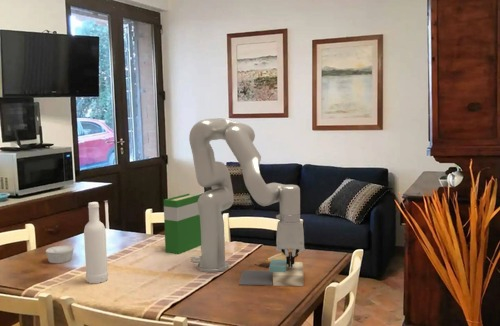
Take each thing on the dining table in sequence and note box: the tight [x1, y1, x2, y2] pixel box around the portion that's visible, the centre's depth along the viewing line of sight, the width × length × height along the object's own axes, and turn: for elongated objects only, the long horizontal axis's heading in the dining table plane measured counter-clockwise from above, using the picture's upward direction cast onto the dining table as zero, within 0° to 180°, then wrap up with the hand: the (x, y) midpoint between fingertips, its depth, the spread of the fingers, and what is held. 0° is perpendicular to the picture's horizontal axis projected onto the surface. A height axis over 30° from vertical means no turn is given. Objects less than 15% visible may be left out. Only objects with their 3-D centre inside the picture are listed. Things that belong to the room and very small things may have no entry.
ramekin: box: [45, 245, 75, 264], centre depth 229 cm, size 11×11×5 cm
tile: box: [268, 259, 287, 272], centre depth 200 cm, size 6×9×2 cm, turn 173°
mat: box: [238, 269, 273, 287], centre depth 202 cm, size 12×16×1 cm
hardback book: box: [163, 193, 202, 255], centre depth 244 cm, size 18×7×24 cm, turn 149°
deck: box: [272, 261, 304, 287], centre depth 200 cm, size 11×16×4 cm
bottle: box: [83, 201, 109, 284], centre depth 201 cm, size 8×8×30 cm
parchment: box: [254, 251, 299, 269], centre depth 225 cm, size 25×10×1 cm, turn 145°
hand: (290, 265), depth 200 cm, fingers closed
